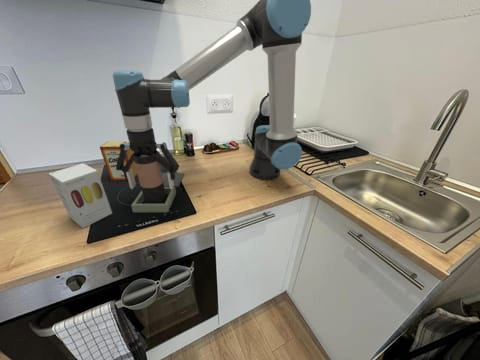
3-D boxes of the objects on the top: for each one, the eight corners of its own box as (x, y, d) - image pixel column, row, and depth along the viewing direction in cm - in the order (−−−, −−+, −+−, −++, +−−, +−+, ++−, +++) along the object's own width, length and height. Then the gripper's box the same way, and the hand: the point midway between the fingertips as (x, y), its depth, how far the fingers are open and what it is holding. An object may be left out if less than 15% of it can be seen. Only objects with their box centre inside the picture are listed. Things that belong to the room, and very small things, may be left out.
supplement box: (82, 229, 61) (59, 182, 53) (69, 218, 66) (45, 173, 57) (113, 212, 68) (97, 169, 60) (99, 203, 73) (82, 162, 64)
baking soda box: (111, 180, 87) (99, 145, 79) (117, 173, 93) (107, 140, 85) (133, 180, 88) (123, 146, 80) (138, 173, 93) (130, 140, 85)
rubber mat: (184, 173, 94) (184, 172, 94) (178, 187, 84) (178, 186, 84) (158, 173, 94) (158, 172, 93) (149, 187, 83) (149, 186, 83)
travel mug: (159, 209, 71) (148, 158, 61) (140, 206, 72) (126, 155, 62) (170, 197, 77) (162, 149, 67) (152, 195, 78) (141, 147, 68)
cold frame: (176, 193, 80) (175, 186, 78) (168, 212, 70) (166, 205, 68) (145, 193, 79) (144, 186, 78) (133, 212, 69) (131, 205, 67)
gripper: (183, 125, 64) (189, 181, 75) (104, 124, 63) (122, 181, 74) (178, 132, 58) (185, 192, 69) (89, 131, 57) (111, 192, 67)
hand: (152, 187), depth 71 cm, fingers open, 13 cm apart
